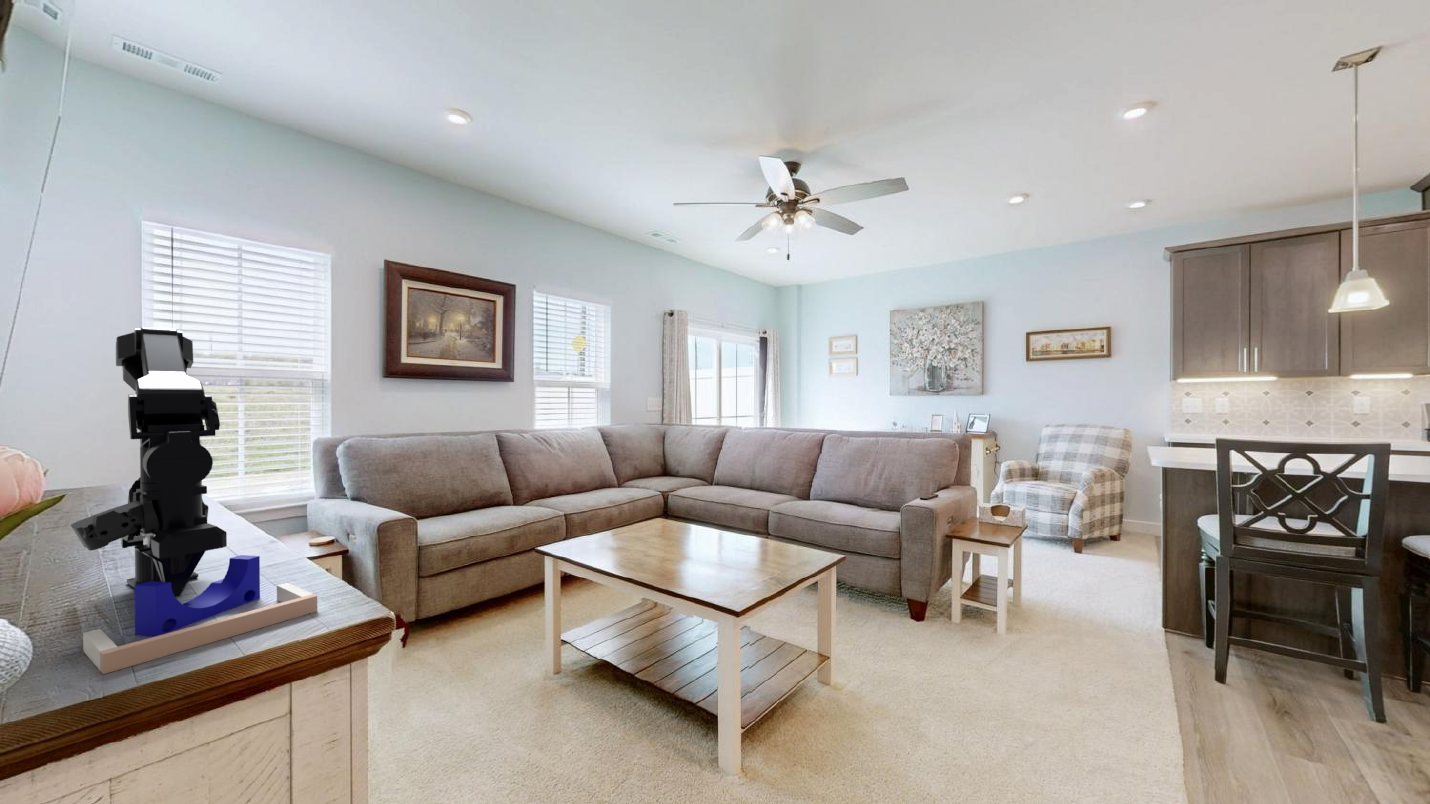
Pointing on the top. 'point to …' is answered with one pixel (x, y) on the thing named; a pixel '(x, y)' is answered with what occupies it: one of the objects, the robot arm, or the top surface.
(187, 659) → the top surface
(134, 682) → the top surface
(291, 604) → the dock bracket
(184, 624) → the blue half clamp
